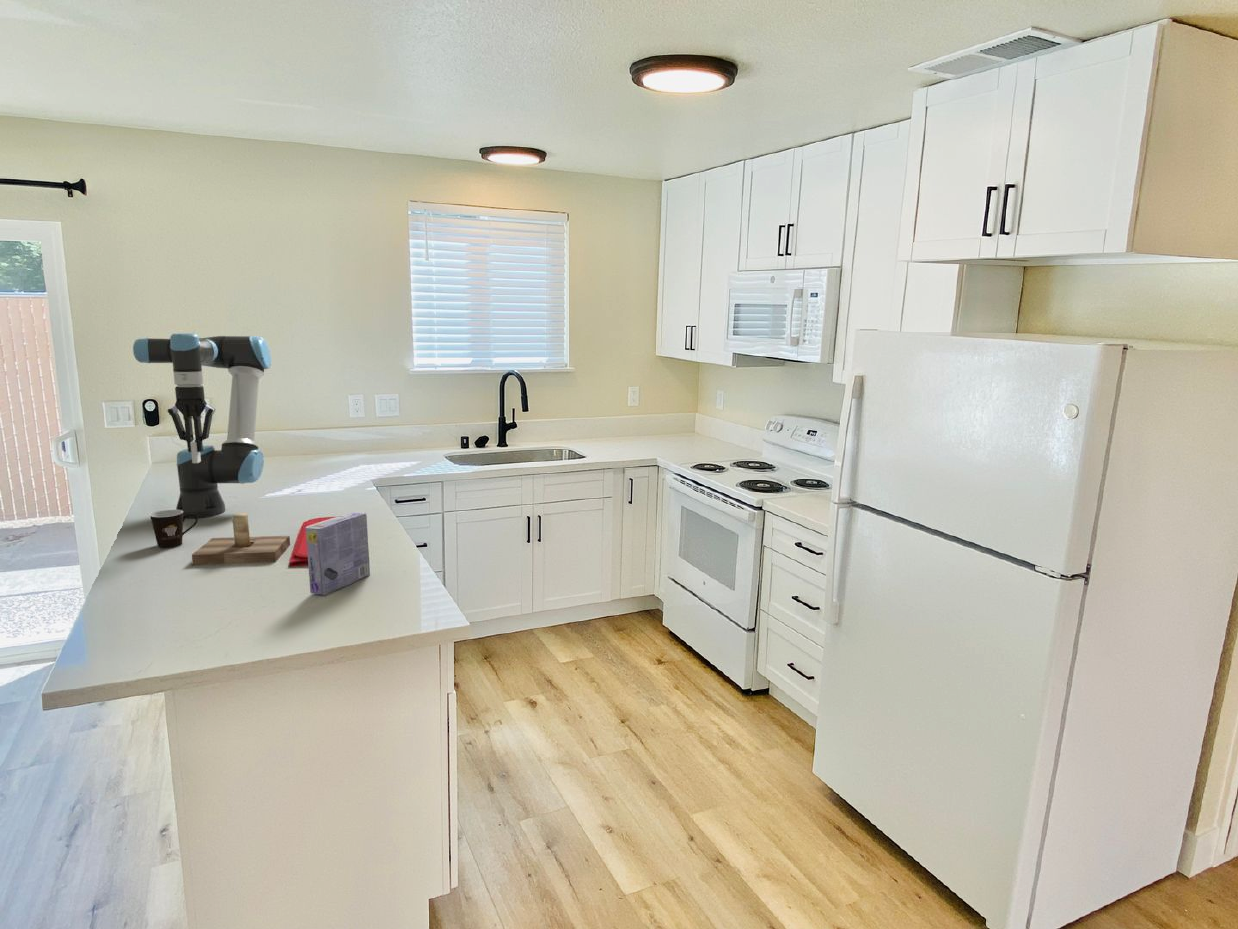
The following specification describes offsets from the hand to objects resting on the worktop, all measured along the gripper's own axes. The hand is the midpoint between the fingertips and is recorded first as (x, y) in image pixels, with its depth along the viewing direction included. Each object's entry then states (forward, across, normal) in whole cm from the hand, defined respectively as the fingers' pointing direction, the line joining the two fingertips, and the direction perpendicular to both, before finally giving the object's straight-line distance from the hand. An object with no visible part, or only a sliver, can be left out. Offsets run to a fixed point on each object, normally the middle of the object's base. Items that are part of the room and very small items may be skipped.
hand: (196, 462), depth 230 cm
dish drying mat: (+25, +38, -10) cm, 46 cm away
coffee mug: (+25, -6, -6) cm, 26 cm away
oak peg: (+24, +17, -18) cm, 35 cm away
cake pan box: (+25, +50, -46) cm, 72 cm away
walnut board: (+24, +17, -18) cm, 35 cm away
